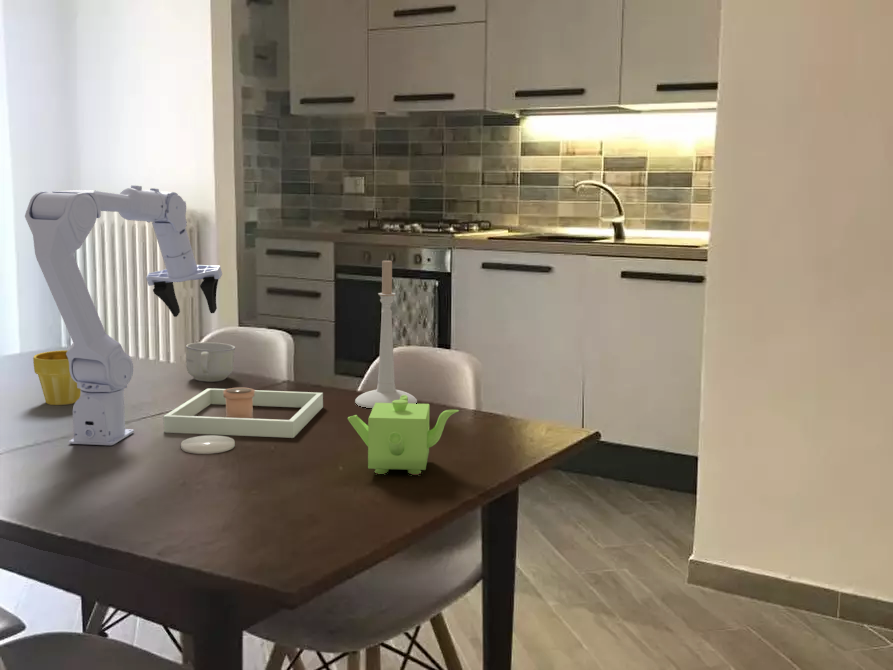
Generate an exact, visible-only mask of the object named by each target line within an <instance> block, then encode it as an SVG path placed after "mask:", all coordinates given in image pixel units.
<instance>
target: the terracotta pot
mask: <svg viewBox="0 0 893 670" xmlns="http://www.w3.org/2000/svg"><path fill="white" fill-rule="evenodd" d="M225 389H226V390H224V391H223V396H224V398H226V405H225V417H228V418H253V419H254V415H253V414H254V408H253V397H254V396H255V390H256V389H254V388H251V387H250V388H249V387H232V388H231V387H230V388H225Z"/></svg>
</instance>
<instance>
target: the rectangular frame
mask: <svg viewBox="0 0 893 670" xmlns="http://www.w3.org/2000/svg"><path fill="white" fill-rule="evenodd" d="M226 389H227V388H206V389H205V390H203V391H201V392H199V393H198V394H196V395H195V396H192V398H190V399H188V400H187V401H186V402H184V403H182V404H181V405H179V406H177V407H176V408H174V409H173V410H171V411H170V412H168V413H166V414H165V415H163V433H167V434H169V433H172V434H173V433H174V434H193V435H195V434H197V435H215V436H239V437H240V436H241V437H244V436H245V437H266V438H289V439H290V438H291V439H293V438H294V439H295V437H296V436H297V435H298V434H299V433H300V432H301V431H302V429H304V427H305V426H307V424H308V423H309V422H310V421H311V420H312V419H313V418H314V417H315V416H316V415H317V414H319V412H320V411H321V410H322V409H323V408H324V399H323V398H324V392H317V391H316V392H315V391H314V392H312V391H311V392H310V391H309V392H308V391H286V390H284V391H283V390H263V389H262V390H261V389H260V390H258V389H254V390H255V396H254V397H253V406H255V407H258V406H259V407H281V408H300V409H299V410H298V411H297V412H296V413H295V414H294V415H293V416H292V417H291V418H290V419H272V418H254V417H253V418H228V417H226V416H225V417H224V416H223V417H222V416H201V415H198V413H200V412H202V411H203V410H205V409H206V408H207V407H209V406H210V405H225V406H226V398H224V396H223V391H224V390H226ZM197 415H198V416H197Z"/></svg>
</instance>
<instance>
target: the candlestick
mask: <svg viewBox="0 0 893 670" xmlns="http://www.w3.org/2000/svg"><path fill="white" fill-rule="evenodd" d="M381 271H382V272H381V277H382V278H381V292H378V293H377V294H378V296H379V297H380V299H379V301H380V303H381V304H382V310H381V321H380V322H381V323H380V338H379V339H380V340H379V341H380V342H379V359H378V360H379V361H378V376H377V377H378V378H377V385H376V386H377V387H376V389H373V390H369V391H366V392H362V393H361V394H359V395H358V396H357V397H356V398H355V400H354V404H355V403H356V404H357V405H358V407H359V406H361V407H360V408H362V407H366V408H372V409H373V407H374V405H375V403H392V401H394V400H400V397H401V396H402V395H407V396H408V403H412V404H416V403H417V404H418V399H417V398H416V397H415V396H414V395H413V394H411V393H409V392H406V391H404V390H400V389H396V388H397V387H396V385H395V383H396V382H395V381H396V379H395V361H394V359H395V358H394V340H393V339H394V337H393V336H394V335H393V311H392V309H391V307H392V303H394V296H395V295H396V293H395V292H393V261H392V260H389V259H388V258H387V259H386V260H382V261H381ZM356 404H355V405H356ZM357 405H356V406H357ZM366 408H365V409H366ZM372 409H371V410H372Z"/></svg>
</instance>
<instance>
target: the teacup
mask: <svg viewBox="0 0 893 670" xmlns="http://www.w3.org/2000/svg"><path fill="white" fill-rule="evenodd" d="M185 348H186V353H185V354H186V357H185V359H186V361H185V363H186V364H185V365H186V370H187V372H188V374H189V375H190V376H191V377H192V378H193V379H194V380H196V381H200V382H209V383H210V382H222V381H224V380H225V379H226V378H228V376H231V375H232V372H233V370H234V362H235V349H236V346H235V345H232V344H230V343H229V344H228V343H221V342H209V341H208V342H206V341H205V342H192V343H188V344H186V345H185Z"/></svg>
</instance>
